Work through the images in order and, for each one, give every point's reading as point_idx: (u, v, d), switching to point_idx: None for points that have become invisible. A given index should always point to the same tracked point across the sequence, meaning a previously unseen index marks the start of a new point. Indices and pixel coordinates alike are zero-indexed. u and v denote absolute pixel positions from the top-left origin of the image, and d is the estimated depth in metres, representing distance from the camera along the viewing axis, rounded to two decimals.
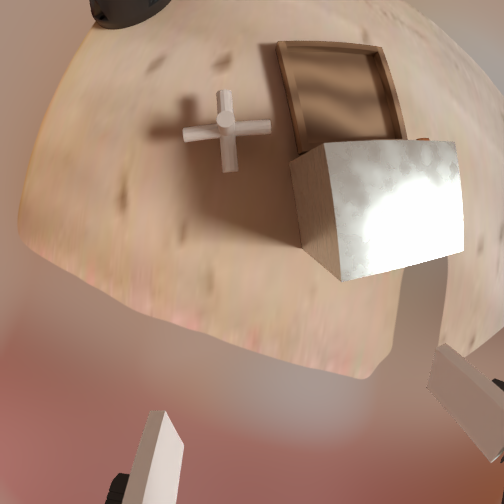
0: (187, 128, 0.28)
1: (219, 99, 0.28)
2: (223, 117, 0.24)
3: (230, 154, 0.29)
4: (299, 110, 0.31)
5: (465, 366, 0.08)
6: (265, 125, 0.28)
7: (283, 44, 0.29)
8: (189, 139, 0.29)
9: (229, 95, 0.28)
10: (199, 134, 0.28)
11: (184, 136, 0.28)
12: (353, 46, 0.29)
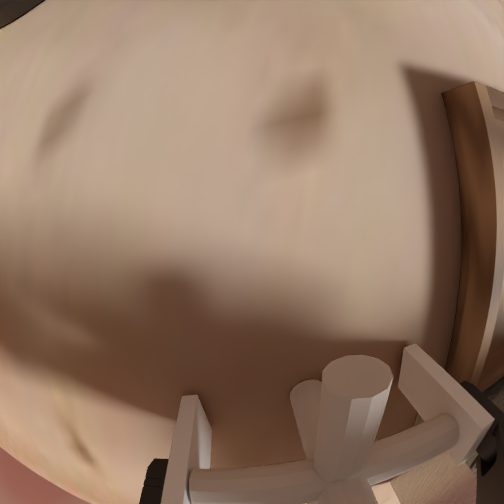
0: (206, 497, 0.06)
1: (338, 426, 0.05)
2: None
3: None
4: (491, 324, 0.09)
5: (432, 367, 0.09)
6: (445, 450, 0.06)
7: (486, 98, 0.07)
8: None
9: (385, 402, 0.05)
10: None
11: None
12: None
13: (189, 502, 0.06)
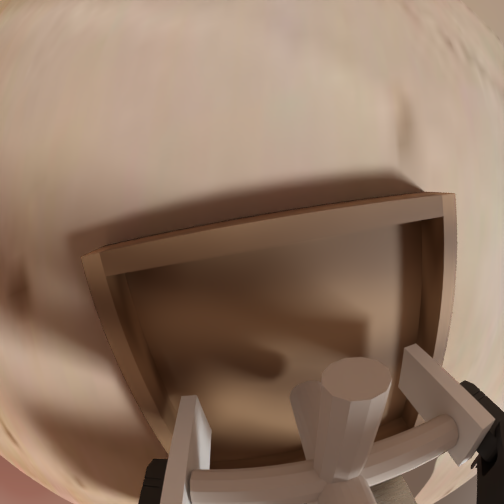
0: (206, 498, 0.06)
1: (337, 427, 0.05)
2: None
3: None
4: None
5: (432, 367, 0.09)
6: (444, 451, 0.06)
7: (97, 270, 0.10)
8: None
9: (384, 404, 0.05)
10: None
11: None
12: (366, 218, 0.10)
13: (188, 502, 0.06)
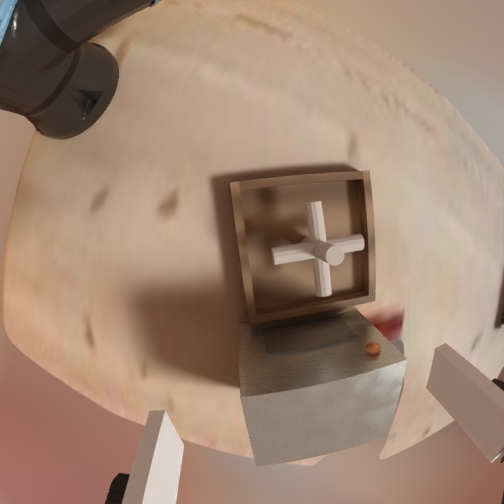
0: (278, 250, 0.28)
1: (310, 213, 0.27)
2: (333, 254, 0.24)
3: (325, 279, 0.28)
4: (248, 280, 0.32)
5: (465, 366, 0.08)
6: (359, 243, 0.28)
7: (236, 187, 0.30)
8: (281, 263, 0.28)
9: (321, 207, 0.27)
10: (292, 258, 0.28)
11: (276, 260, 0.28)
12: (330, 177, 0.30)
13: None
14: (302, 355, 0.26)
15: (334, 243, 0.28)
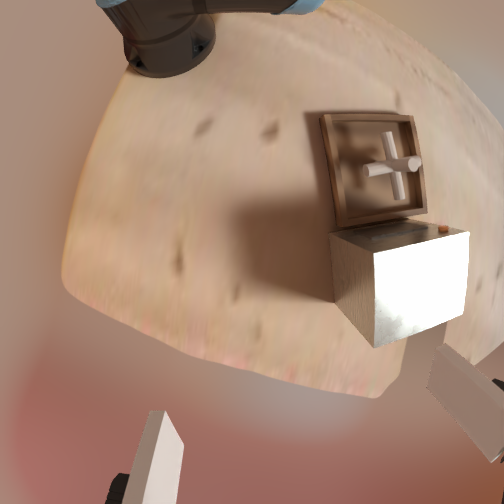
0: (370, 165, 0.33)
1: (386, 139, 0.33)
2: (412, 163, 0.29)
3: (401, 186, 0.34)
4: (341, 189, 0.38)
5: (465, 366, 0.08)
6: (418, 161, 0.33)
7: (329, 118, 0.35)
8: (372, 175, 0.34)
9: (392, 136, 0.33)
10: (380, 171, 0.33)
11: (370, 173, 0.33)
12: (389, 117, 0.36)
13: None
14: (397, 236, 0.32)
15: None
